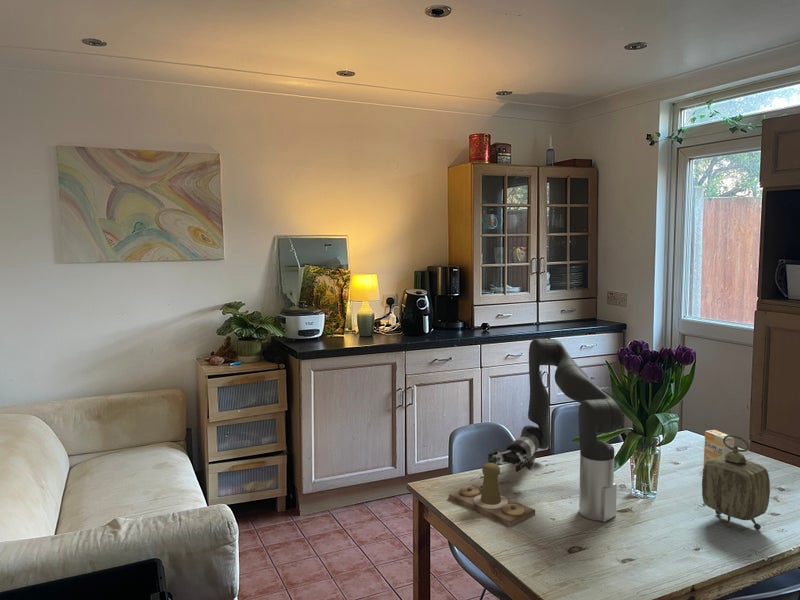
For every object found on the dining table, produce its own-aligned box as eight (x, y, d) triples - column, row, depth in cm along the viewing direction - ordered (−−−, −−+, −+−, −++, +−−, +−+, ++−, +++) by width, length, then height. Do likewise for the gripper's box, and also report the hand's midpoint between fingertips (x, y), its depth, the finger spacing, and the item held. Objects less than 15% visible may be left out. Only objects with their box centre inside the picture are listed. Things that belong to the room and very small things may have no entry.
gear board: (535, 514, 170) (535, 504, 170) (510, 526, 163) (510, 516, 163) (473, 489, 188) (473, 480, 188) (448, 498, 181) (448, 489, 181)
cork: (499, 495, 179) (499, 460, 178) (502, 504, 173) (503, 468, 171) (479, 496, 178) (479, 460, 177) (482, 504, 172) (482, 468, 171)
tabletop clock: (768, 531, 159) (772, 440, 157) (749, 540, 154) (754, 446, 152) (715, 511, 171) (718, 426, 169) (696, 518, 167) (700, 431, 164)
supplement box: (702, 467, 205) (703, 430, 204) (713, 466, 206) (715, 429, 205) (722, 476, 197) (723, 437, 196) (733, 474, 198) (735, 436, 197)
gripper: (500, 436, 201) (482, 450, 187) (541, 443, 194) (526, 458, 180) (500, 458, 202) (482, 473, 188) (541, 465, 195) (525, 482, 181)
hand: (503, 466), depth 184 cm, fingers open, 8 cm apart
